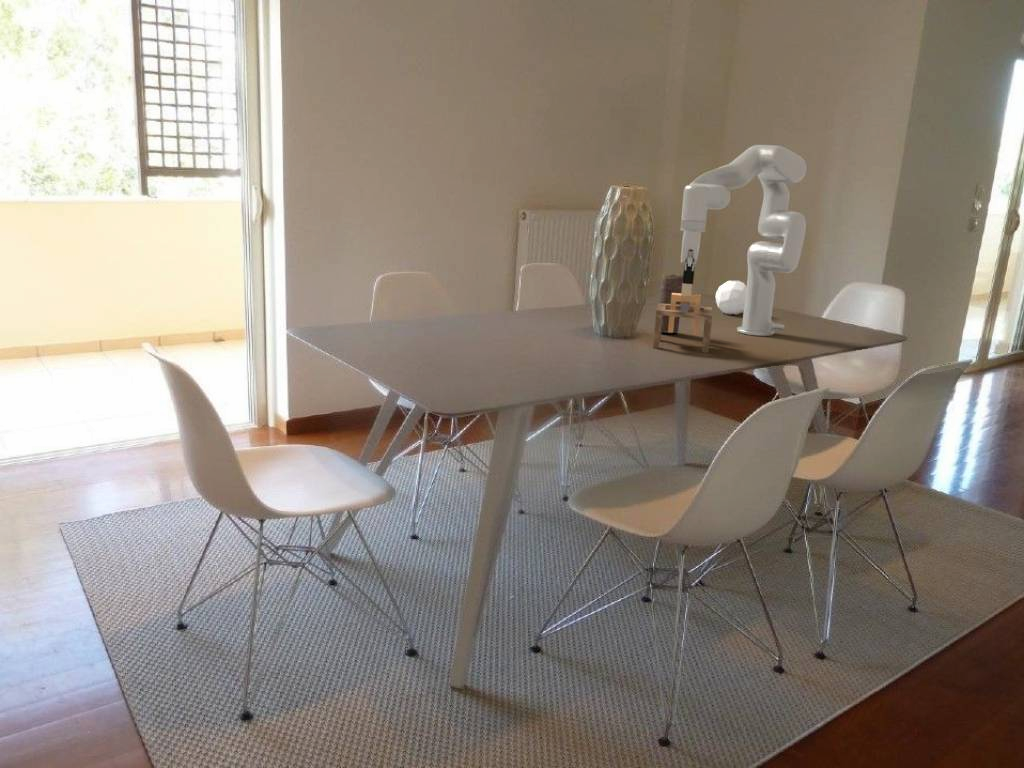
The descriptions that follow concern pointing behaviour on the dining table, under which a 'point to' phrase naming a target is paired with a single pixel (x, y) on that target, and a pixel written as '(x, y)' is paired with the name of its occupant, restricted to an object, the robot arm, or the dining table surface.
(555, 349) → the dining table surface
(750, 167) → the robot arm
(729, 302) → the geodesic sphere
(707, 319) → the shelf
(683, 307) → the long charcoal crossbeam
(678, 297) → the orange cream legged block
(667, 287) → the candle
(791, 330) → the dining table surface
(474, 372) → the dining table surface
